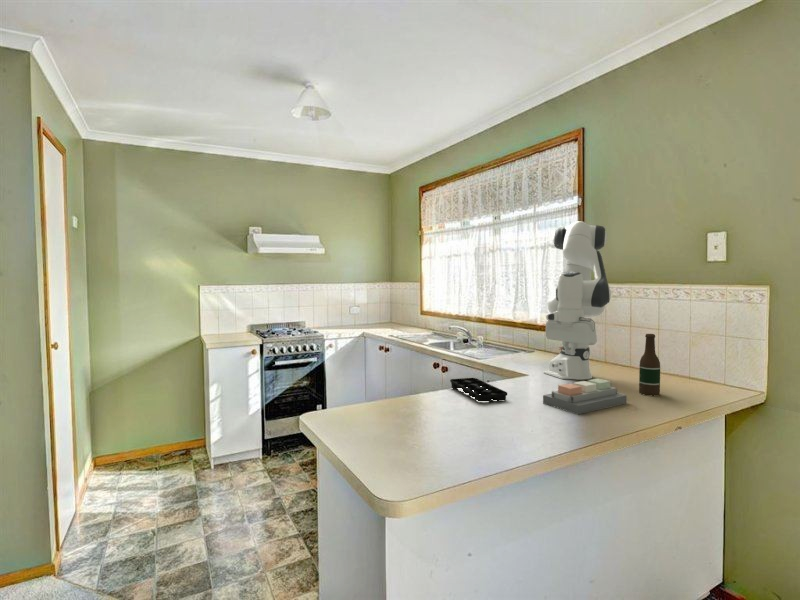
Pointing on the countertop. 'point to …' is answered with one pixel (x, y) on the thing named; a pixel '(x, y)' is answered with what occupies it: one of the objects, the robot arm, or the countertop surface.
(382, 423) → the countertop surface
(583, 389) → the cream key
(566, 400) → the keypad
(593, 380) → the sage key
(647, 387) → the beer bottle
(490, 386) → the egg carton
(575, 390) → the terracotta key
